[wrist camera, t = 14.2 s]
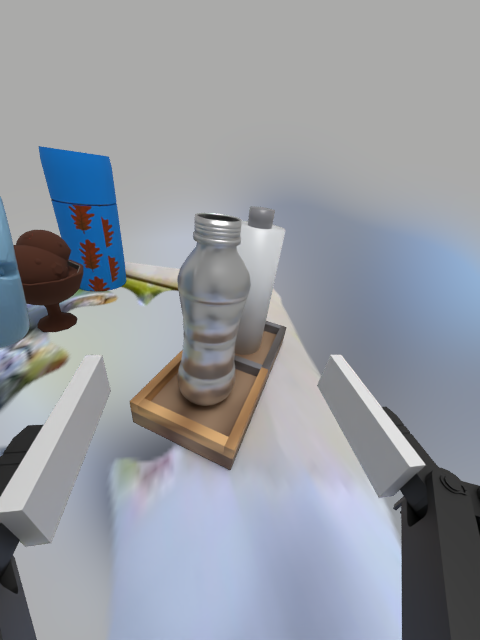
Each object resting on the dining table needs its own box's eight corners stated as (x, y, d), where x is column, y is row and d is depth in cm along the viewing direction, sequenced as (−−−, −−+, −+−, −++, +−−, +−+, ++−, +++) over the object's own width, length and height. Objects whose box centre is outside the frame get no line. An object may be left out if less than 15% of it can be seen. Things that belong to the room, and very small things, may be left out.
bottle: (214, 346, 36) (227, 205, 26) (231, 326, 42) (246, 203, 31) (253, 360, 35) (282, 215, 24) (265, 338, 40) (293, 211, 30)
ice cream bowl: (40, 306, 43) (8, 219, 35) (105, 309, 45) (88, 227, 37) (-4, 340, 34) (-59, 235, 27) (79, 343, 36) (50, 245, 28)
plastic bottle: (180, 372, 31) (179, 206, 21) (231, 372, 32) (254, 215, 22) (174, 414, 26) (167, 219, 15) (235, 413, 27) (268, 230, 16)
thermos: (83, 272, 58) (54, 148, 45) (130, 274, 60) (115, 157, 47) (65, 291, 49) (23, 144, 36) (121, 292, 52) (100, 155, 39)
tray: (133, 422, 26) (129, 401, 24) (223, 323, 46) (224, 308, 44) (230, 470, 23) (234, 450, 21) (282, 342, 43) (286, 327, 41)
